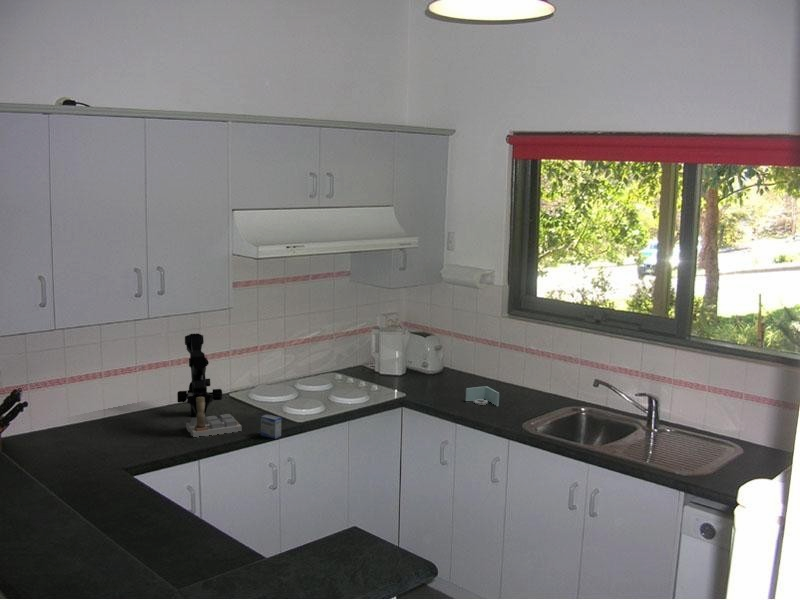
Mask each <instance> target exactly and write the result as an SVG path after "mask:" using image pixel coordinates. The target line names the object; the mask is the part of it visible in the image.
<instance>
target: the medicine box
mask: <svg viewBox="0 0 800 600" xmlns="http://www.w3.org/2000/svg"><path fill="white" fill-rule="evenodd" d="M260 436H261V437H265V438H270V439H275V440H276V439H278V438H280V437H281V436H282V417H281V416H275V415H271V414H264V415H262V416H260Z"/></svg>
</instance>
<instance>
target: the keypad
mask: <svg viewBox="0 0 800 600" xmlns="http://www.w3.org/2000/svg"><path fill="white" fill-rule="evenodd" d="M194 426H197V417H192V418H190V422H186V423H185V429H186V430H187V431H188V433H189V432H190V433H191V434H190V433H189V434H190V436H191V437H192V436H193V437H197V438H200V437H199V436H205V437H210V436H209V435H212V436H218V435H217V434H219V435H225V434H224V433H227V434H232V432H234V433H239V432H238V431H241V432H242V428H243V426H242V424H240V422H239V421H237V420H236V418H234V416H233V415H232V414H231V413H225V414H220V415H219V418H218V417H217V416H216V415H209V416H205V426H206V427H207V430H204V431H197V432H196V430H195V427H194ZM193 437H192V438H193Z"/></svg>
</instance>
